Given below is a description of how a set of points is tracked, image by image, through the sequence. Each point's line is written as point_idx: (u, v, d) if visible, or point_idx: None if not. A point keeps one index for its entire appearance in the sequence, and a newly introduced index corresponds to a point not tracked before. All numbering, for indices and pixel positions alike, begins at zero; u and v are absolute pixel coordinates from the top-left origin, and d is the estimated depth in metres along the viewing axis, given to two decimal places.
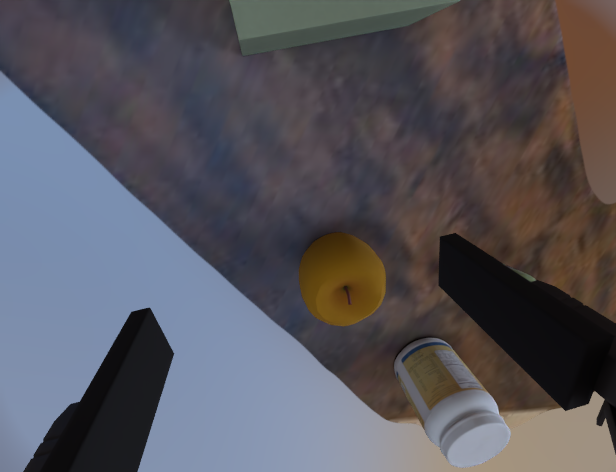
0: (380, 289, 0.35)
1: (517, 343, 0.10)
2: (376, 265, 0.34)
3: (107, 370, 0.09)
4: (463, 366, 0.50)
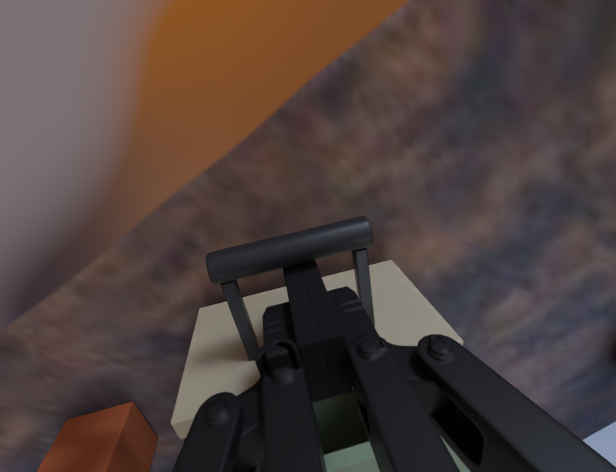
0: None
1: None
2: None
3: (294, 281, 0.12)
4: None
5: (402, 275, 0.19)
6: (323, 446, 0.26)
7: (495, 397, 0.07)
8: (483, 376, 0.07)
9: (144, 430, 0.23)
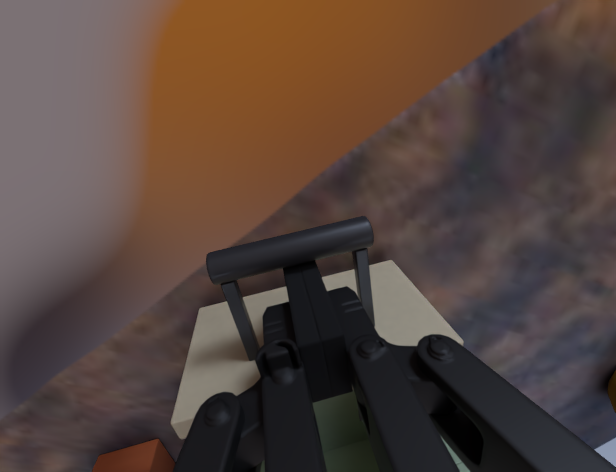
0: None
1: None
2: None
3: (294, 281, 0.12)
4: None
5: (402, 275, 0.19)
6: (323, 446, 0.26)
7: (495, 397, 0.07)
8: (483, 376, 0.07)
9: (168, 464, 0.25)
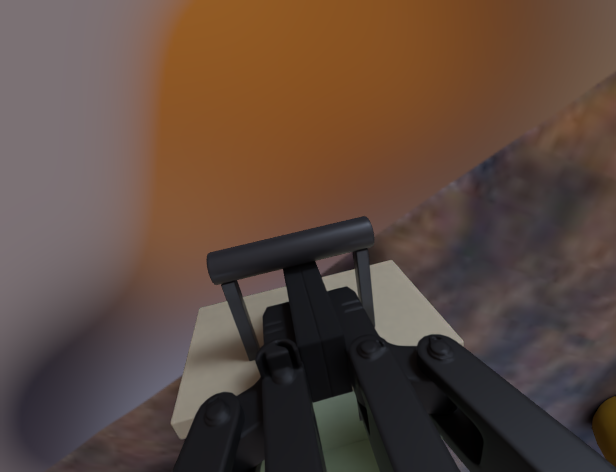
0: None
1: None
2: None
3: (294, 281, 0.12)
4: None
5: (402, 275, 0.19)
6: (322, 446, 0.26)
7: (495, 397, 0.07)
8: (483, 376, 0.07)
9: None
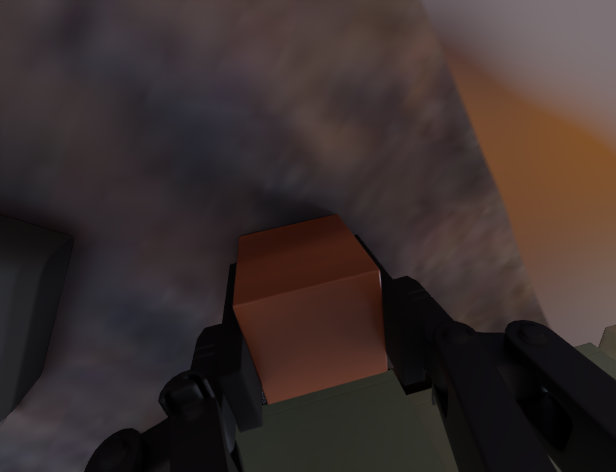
0: None
1: None
2: None
3: None
4: None
5: None
6: None
7: (593, 387, 0.07)
8: (580, 366, 0.07)
9: None
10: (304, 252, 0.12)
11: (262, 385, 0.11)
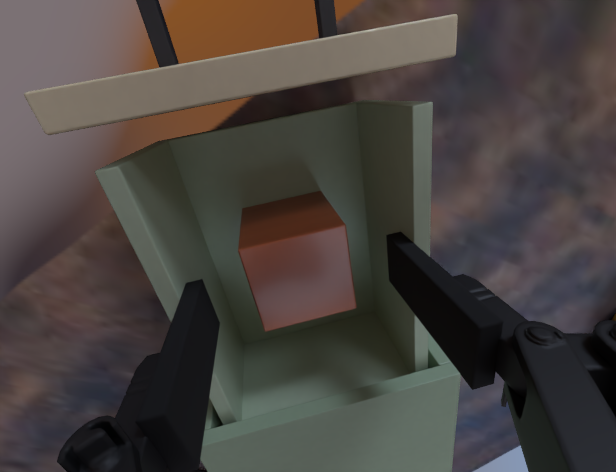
0: None
1: (439, 330, 0.11)
2: None
3: (178, 326, 0.11)
4: None
5: None
6: None
7: None
8: None
9: None
10: (292, 216, 0.15)
11: (260, 315, 0.15)
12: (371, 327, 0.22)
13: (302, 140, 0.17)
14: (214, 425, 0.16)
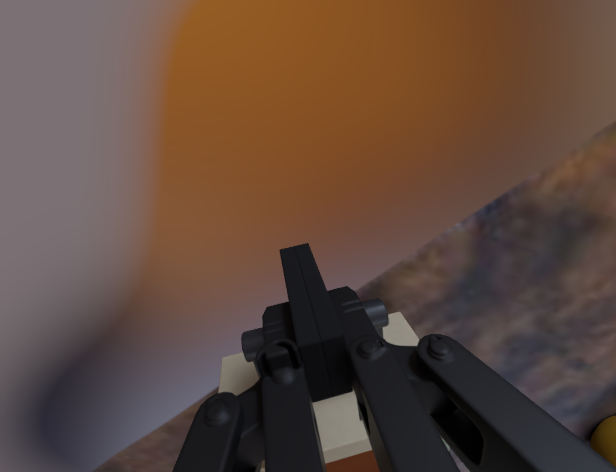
0: None
1: None
2: None
3: (294, 281, 0.12)
4: None
5: (410, 330, 0.20)
6: None
7: (495, 397, 0.07)
8: (483, 376, 0.07)
9: None
10: None
11: None
12: None
13: None
14: None
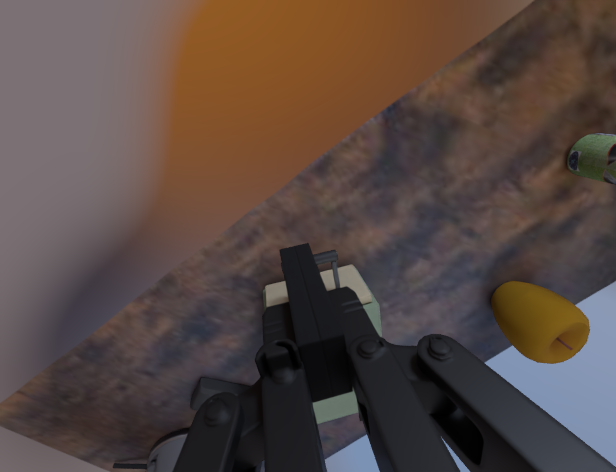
0: (570, 324, 0.41)
1: None
2: (547, 327, 0.42)
3: (294, 281, 0.12)
4: None
5: (355, 271, 0.42)
6: None
7: (495, 397, 0.07)
8: (483, 376, 0.07)
9: None
10: None
11: None
12: None
13: None
14: None
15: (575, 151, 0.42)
